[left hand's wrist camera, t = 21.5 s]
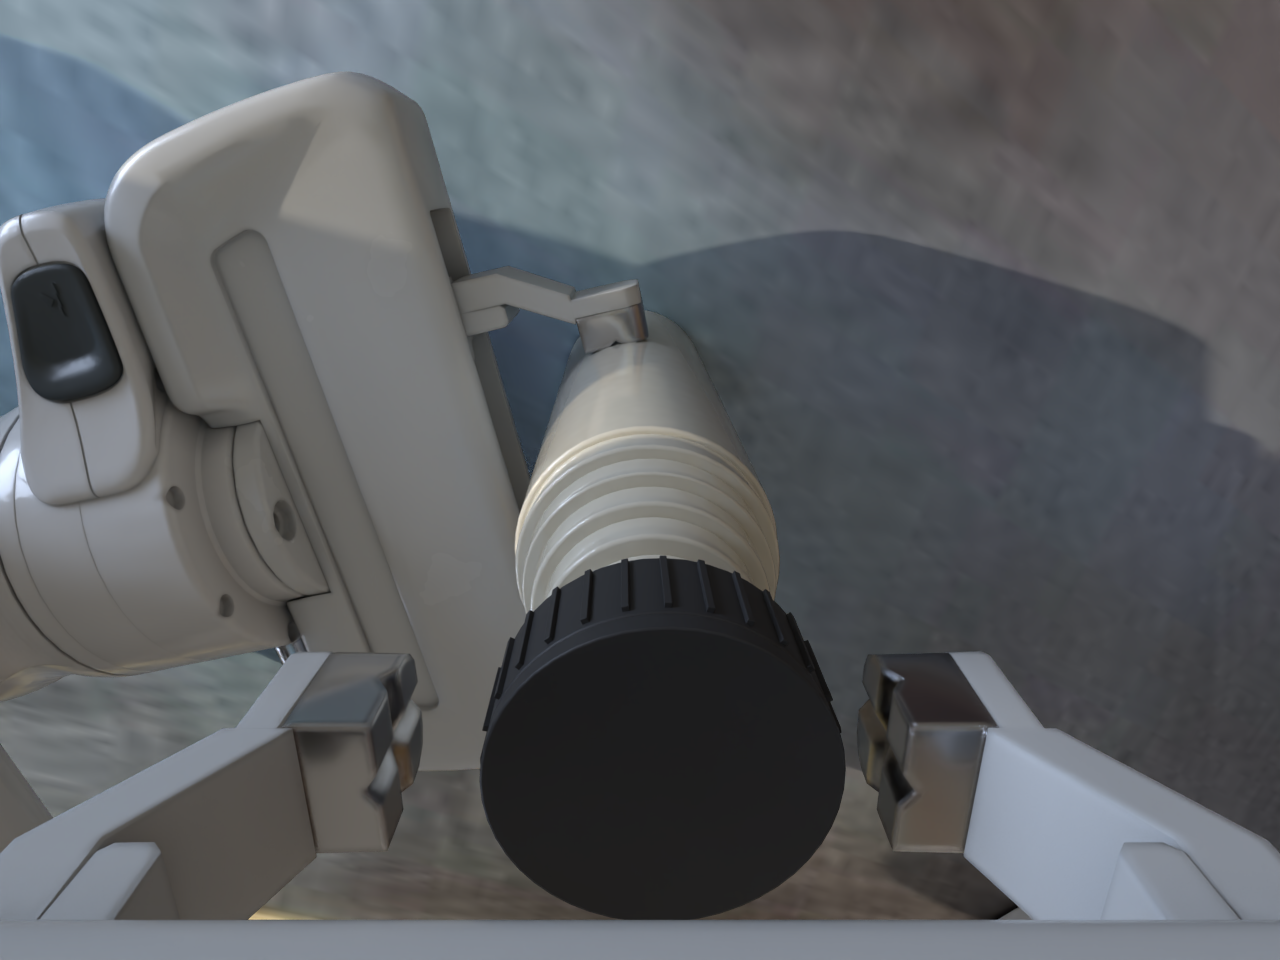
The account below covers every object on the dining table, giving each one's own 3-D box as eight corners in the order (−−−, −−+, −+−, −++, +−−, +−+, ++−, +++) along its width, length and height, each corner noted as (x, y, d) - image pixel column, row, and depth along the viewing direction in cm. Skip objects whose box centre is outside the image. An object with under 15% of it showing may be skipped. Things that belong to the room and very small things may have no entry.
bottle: (538, 361, 27) (369, 712, 9) (650, 280, 27) (718, 482, 8) (618, 466, 29) (615, 957, 10) (727, 392, 28) (935, 783, 9)
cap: (814, 538, 9) (852, 605, 8) (817, 808, 11) (850, 911, 9) (473, 567, 9) (443, 642, 8) (520, 834, 11) (504, 940, 9)
